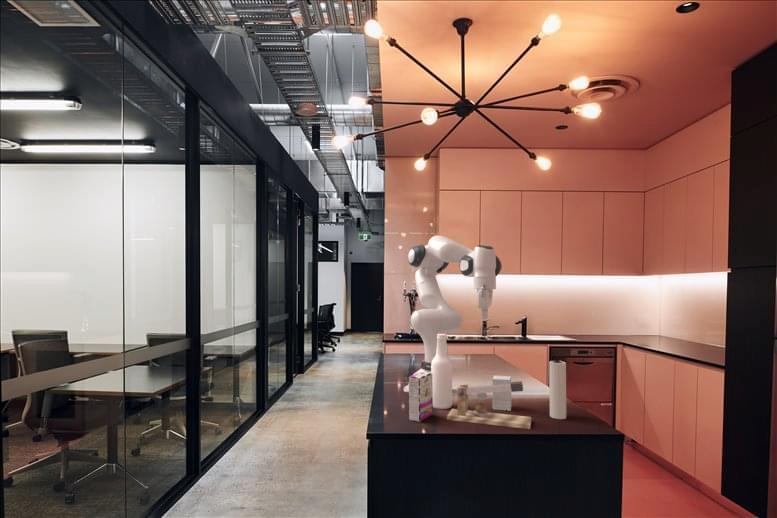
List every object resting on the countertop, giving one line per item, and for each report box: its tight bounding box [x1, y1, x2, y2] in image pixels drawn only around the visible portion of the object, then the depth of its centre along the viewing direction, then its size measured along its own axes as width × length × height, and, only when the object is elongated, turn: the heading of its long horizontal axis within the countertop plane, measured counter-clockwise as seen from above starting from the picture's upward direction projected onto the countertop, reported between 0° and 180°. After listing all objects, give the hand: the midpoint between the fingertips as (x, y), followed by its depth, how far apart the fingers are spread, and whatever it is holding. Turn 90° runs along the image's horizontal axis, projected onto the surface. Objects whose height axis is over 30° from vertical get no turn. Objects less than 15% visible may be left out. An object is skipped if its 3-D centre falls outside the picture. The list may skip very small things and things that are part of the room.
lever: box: [466, 380, 524, 401], centre depth 170 cm, size 24×4×5 cm, turn 71°
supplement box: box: [491, 374, 513, 412], centre depth 187 cm, size 7×7×13 cm
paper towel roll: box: [548, 360, 567, 420], centre depth 175 cm, size 7×6×21 cm
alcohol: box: [431, 333, 453, 410], centre depth 189 cm, size 9×9×30 cm
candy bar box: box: [408, 372, 434, 423], centre depth 173 cm, size 11×5×16 cm, turn 148°
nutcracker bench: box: [446, 383, 532, 430], centre depth 170 cm, size 30×10×12 cm, turn 70°
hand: (484, 319), depth 183 cm, fingers closed
